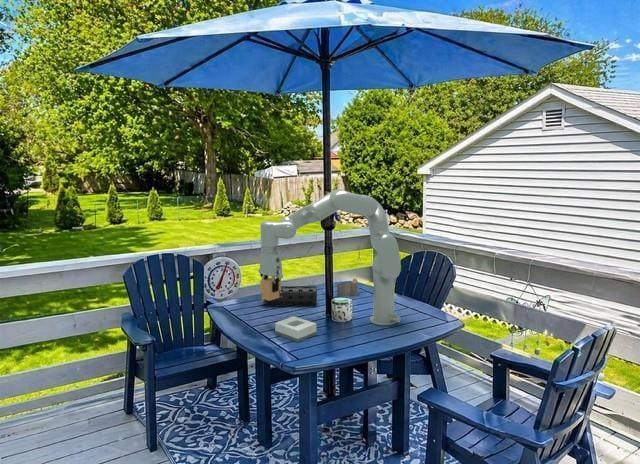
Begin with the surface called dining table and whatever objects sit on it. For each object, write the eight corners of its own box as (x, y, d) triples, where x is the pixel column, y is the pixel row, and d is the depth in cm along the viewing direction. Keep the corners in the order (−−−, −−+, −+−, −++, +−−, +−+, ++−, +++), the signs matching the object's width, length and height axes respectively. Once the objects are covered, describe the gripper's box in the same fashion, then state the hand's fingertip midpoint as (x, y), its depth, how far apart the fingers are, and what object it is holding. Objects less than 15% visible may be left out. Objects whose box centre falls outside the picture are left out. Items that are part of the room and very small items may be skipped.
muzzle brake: (316, 308, 234) (316, 288, 232) (261, 308, 234) (260, 288, 232) (316, 302, 243) (316, 283, 241) (263, 302, 244) (263, 283, 242)
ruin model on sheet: (357, 294, 256) (357, 277, 255) (358, 296, 253) (358, 279, 252) (336, 295, 255) (336, 278, 253) (337, 297, 252) (337, 280, 250)
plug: (281, 297, 205) (280, 279, 203) (269, 301, 199) (268, 282, 198) (272, 295, 208) (272, 277, 207) (260, 298, 203) (260, 280, 202)
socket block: (316, 334, 198) (316, 323, 197) (298, 342, 190) (298, 330, 189) (293, 326, 208) (293, 316, 207) (275, 333, 200) (275, 322, 199)
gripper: (289, 250, 197) (290, 292, 200) (263, 246, 209) (264, 284, 212) (276, 253, 192) (277, 295, 195) (250, 248, 203) (251, 288, 206)
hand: (270, 289), depth 203 cm, fingers closed on plug, 5 cm apart
